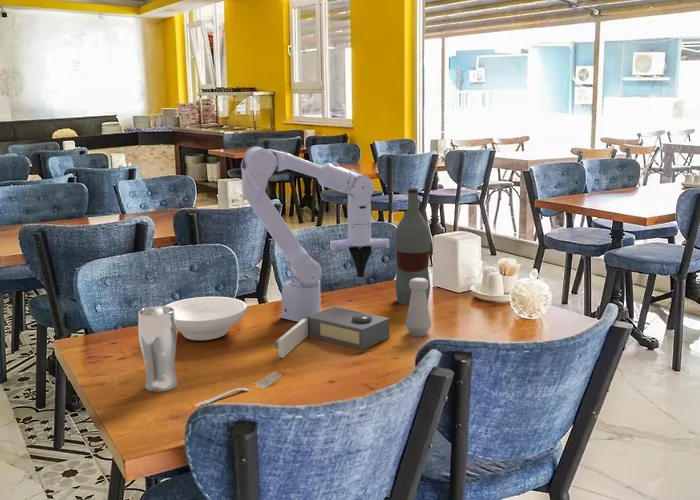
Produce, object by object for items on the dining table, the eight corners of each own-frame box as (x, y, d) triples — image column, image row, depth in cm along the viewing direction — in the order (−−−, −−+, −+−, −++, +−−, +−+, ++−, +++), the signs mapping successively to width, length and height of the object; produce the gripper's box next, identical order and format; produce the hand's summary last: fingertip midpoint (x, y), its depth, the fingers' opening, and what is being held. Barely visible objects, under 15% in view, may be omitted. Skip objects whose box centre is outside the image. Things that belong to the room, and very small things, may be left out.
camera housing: (307, 335, 170) (306, 313, 169) (334, 324, 178) (334, 303, 177) (362, 349, 160) (362, 326, 159) (389, 337, 168) (389, 314, 167)
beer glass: (146, 380, 145) (140, 306, 142) (182, 378, 145) (177, 304, 142) (139, 394, 138) (133, 316, 135) (177, 392, 139) (172, 315, 135)
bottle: (437, 300, 197) (438, 188, 191) (416, 307, 190) (417, 192, 184) (408, 294, 203) (409, 185, 197) (388, 301, 197) (387, 189, 190)
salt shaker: (429, 338, 167) (430, 282, 164) (404, 337, 168) (404, 281, 165) (432, 330, 172) (432, 276, 170) (407, 329, 174) (407, 275, 171)
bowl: (265, 335, 171) (264, 306, 170) (195, 357, 157) (193, 326, 156) (213, 318, 184) (212, 292, 183) (144, 337, 170) (142, 309, 169)
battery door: (300, 334, 170) (300, 317, 170) (308, 334, 170) (308, 318, 169) (274, 356, 156) (273, 338, 155) (283, 357, 155) (282, 339, 155)
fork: (162, 415, 130) (161, 406, 129) (274, 379, 145) (273, 370, 145) (170, 421, 127) (170, 411, 127) (283, 383, 143) (283, 374, 143)
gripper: (385, 219, 187) (386, 271, 190) (328, 221, 185) (329, 273, 188) (390, 223, 180) (391, 277, 183) (331, 226, 179) (332, 280, 181)
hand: (360, 276), depth 185 cm, fingers closed
